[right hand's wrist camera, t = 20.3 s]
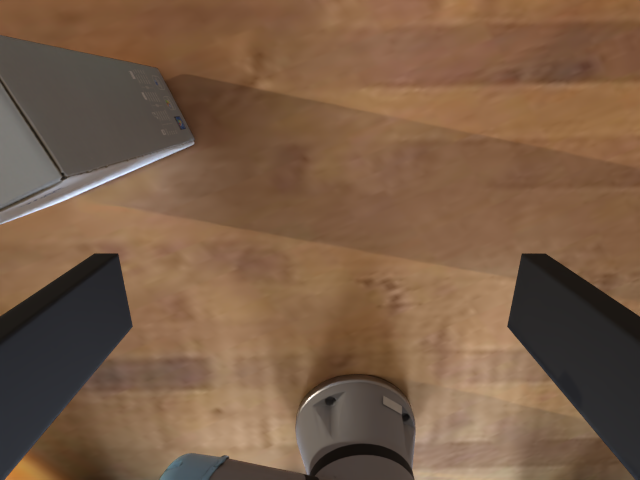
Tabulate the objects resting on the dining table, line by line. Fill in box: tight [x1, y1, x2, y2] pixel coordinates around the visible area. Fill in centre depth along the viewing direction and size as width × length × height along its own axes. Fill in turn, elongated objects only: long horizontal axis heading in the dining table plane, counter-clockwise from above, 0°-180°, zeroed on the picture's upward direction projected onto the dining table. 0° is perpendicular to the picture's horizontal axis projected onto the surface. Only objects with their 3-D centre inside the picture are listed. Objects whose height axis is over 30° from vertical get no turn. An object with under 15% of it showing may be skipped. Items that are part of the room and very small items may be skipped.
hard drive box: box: [0, 35, 195, 224], centre depth 28 cm, size 16×8×20 cm, turn 113°
